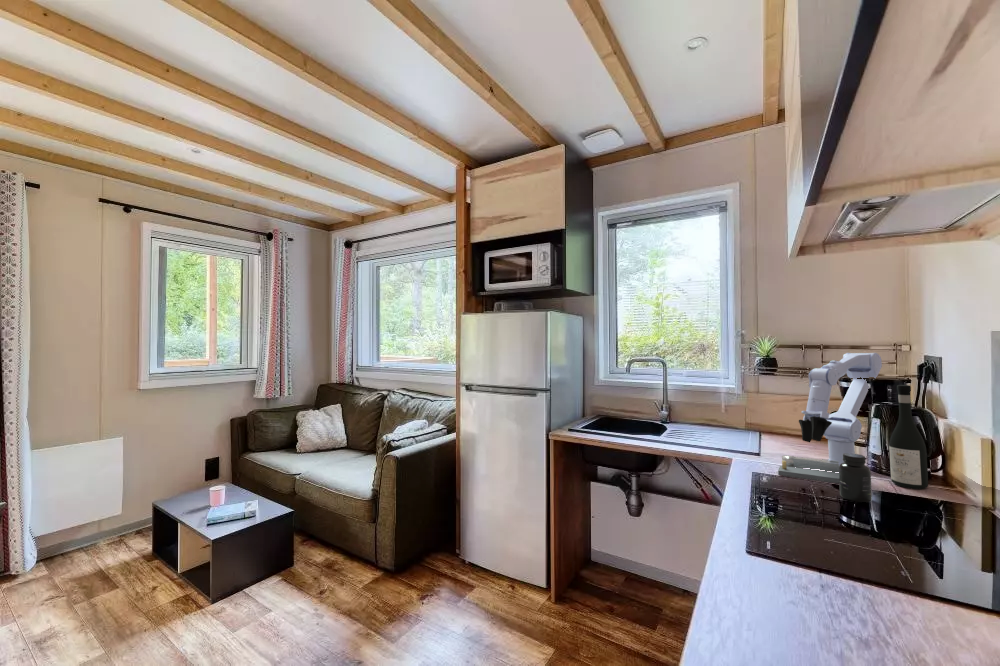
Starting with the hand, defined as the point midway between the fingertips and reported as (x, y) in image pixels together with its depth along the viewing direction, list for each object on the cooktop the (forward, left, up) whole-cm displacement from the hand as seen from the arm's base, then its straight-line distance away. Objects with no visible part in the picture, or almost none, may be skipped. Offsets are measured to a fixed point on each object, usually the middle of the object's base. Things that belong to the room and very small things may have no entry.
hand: (811, 440), depth 142 cm
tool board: (+6, +2, -11) cm, 12 cm away
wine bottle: (+1, +23, -11) cm, 26 cm away
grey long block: (-3, -1, -11) cm, 11 cm away
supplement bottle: (+23, +10, -11) cm, 27 cm away
